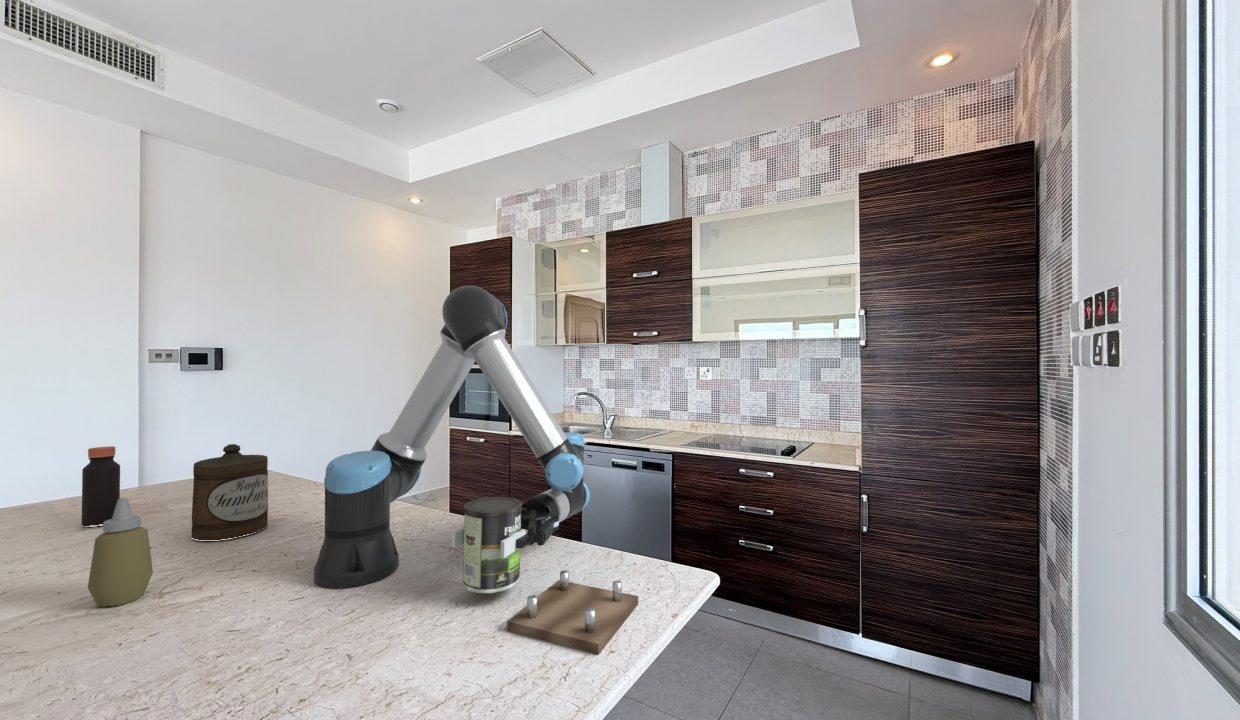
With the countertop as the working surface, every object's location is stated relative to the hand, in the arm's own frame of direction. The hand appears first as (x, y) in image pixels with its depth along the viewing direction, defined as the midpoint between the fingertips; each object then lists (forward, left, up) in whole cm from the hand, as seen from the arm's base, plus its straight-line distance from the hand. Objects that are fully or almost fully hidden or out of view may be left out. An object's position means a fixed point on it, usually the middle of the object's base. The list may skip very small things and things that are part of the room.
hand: (477, 544), depth 85 cm
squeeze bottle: (-59, -24, -11) cm, 65 cm away
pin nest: (+18, +3, -10) cm, 21 cm away
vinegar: (-119, -5, -11) cm, 120 cm away
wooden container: (-81, +5, -11) cm, 82 cm away
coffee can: (0, +4, -8) cm, 9 cm away
